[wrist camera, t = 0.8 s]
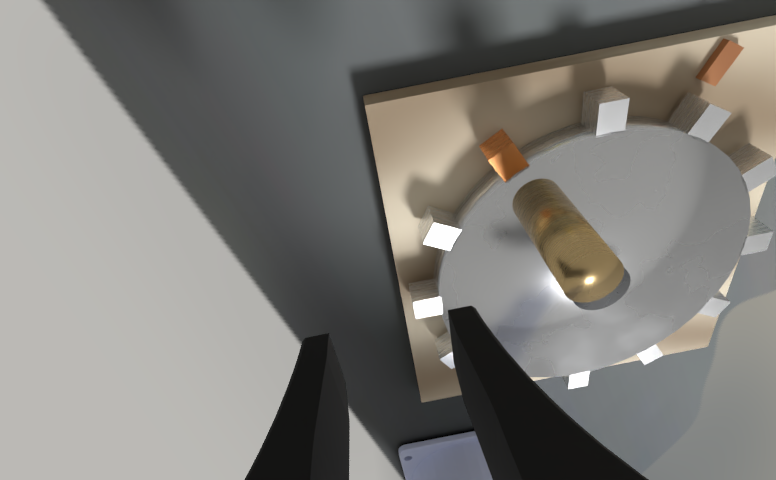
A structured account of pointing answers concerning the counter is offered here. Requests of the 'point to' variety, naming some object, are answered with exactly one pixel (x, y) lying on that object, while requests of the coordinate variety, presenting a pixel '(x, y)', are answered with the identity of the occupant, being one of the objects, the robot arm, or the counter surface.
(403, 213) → the sprocket base
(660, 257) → the sprocket
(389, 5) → the counter surface
